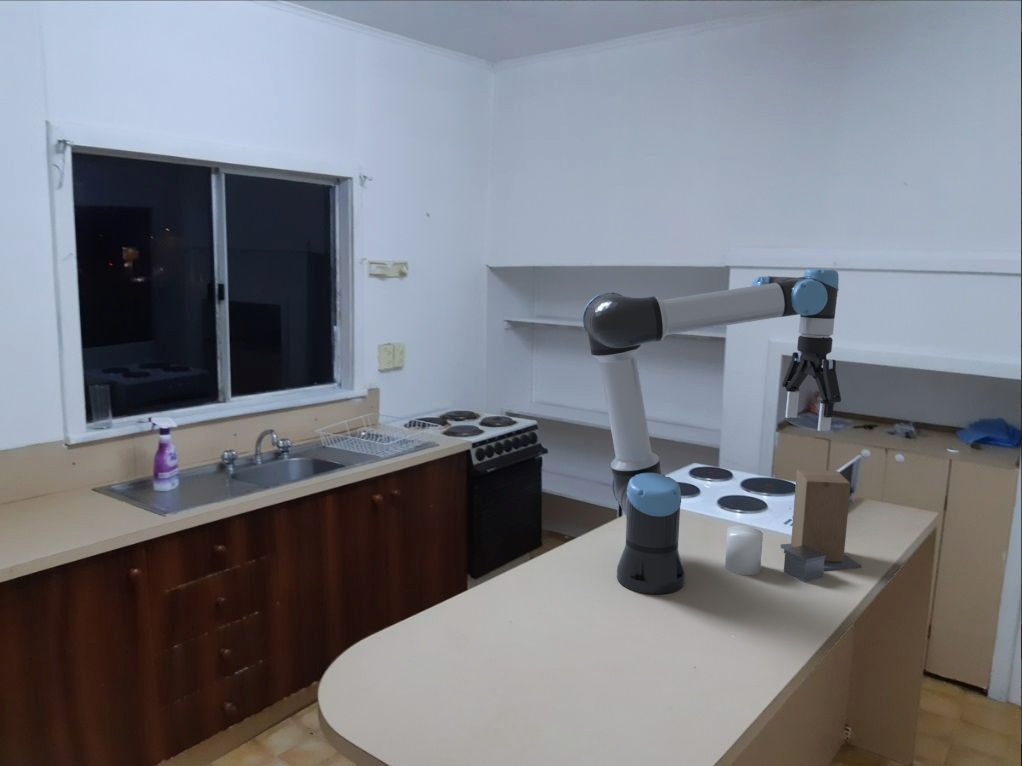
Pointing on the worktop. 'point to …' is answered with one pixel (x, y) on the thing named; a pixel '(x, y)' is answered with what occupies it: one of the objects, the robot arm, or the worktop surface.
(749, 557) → the white rounded cylinder
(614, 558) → the worktop surface
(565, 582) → the worktop surface
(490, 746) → the worktop surface
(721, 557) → the worktop surface
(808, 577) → the tea tin
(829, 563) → the mat
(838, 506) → the wooden block
